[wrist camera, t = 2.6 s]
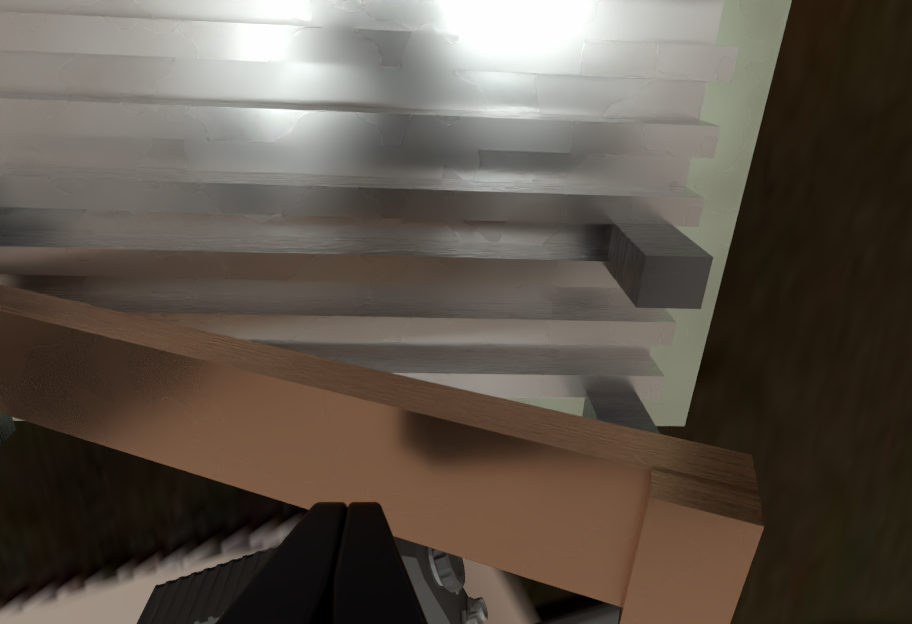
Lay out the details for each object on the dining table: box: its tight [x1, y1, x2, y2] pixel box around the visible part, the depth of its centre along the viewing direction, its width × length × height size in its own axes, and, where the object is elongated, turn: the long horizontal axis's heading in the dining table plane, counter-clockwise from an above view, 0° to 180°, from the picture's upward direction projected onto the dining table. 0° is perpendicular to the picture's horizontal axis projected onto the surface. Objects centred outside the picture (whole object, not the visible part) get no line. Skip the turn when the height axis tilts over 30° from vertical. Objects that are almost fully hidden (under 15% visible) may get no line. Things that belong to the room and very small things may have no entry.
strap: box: [0, 284, 764, 624], centre depth 10 cm, size 15×3×1 cm, turn 88°
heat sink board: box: [0, 0, 792, 445], centre depth 12 cm, size 22×22×7 cm
